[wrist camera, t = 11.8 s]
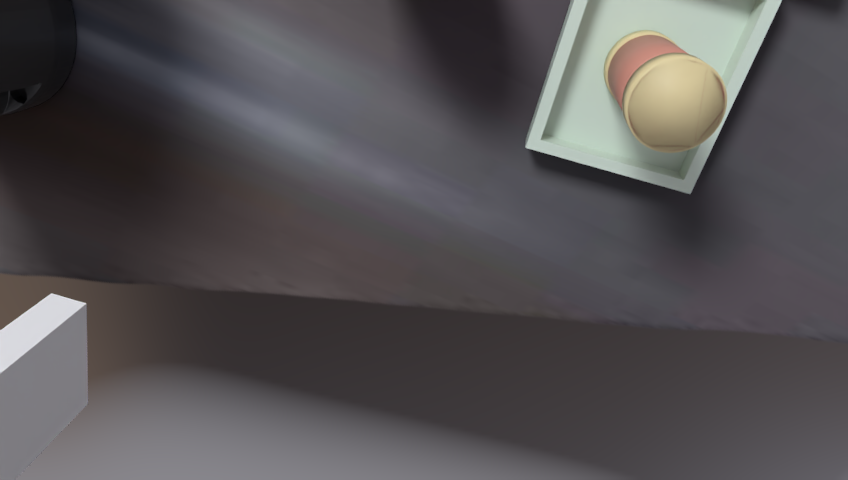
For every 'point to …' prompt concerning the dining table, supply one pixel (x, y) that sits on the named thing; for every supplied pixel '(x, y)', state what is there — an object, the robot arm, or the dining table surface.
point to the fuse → (664, 92)
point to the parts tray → (598, 110)
